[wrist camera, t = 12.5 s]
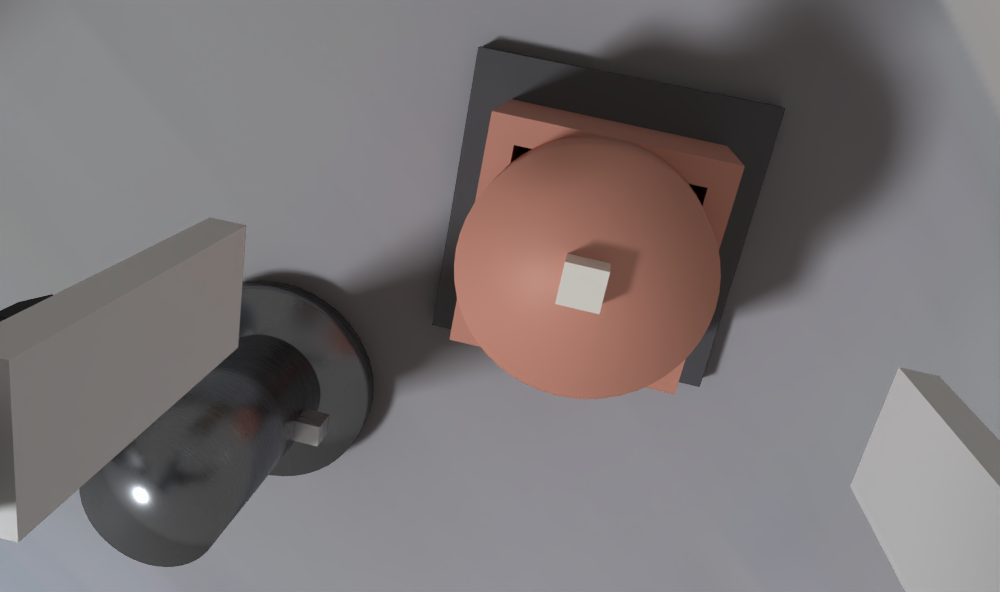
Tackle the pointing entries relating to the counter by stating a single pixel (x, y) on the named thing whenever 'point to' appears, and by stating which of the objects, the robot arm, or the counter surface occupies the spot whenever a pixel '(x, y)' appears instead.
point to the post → (237, 429)
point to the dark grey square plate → (624, 102)
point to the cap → (591, 251)
